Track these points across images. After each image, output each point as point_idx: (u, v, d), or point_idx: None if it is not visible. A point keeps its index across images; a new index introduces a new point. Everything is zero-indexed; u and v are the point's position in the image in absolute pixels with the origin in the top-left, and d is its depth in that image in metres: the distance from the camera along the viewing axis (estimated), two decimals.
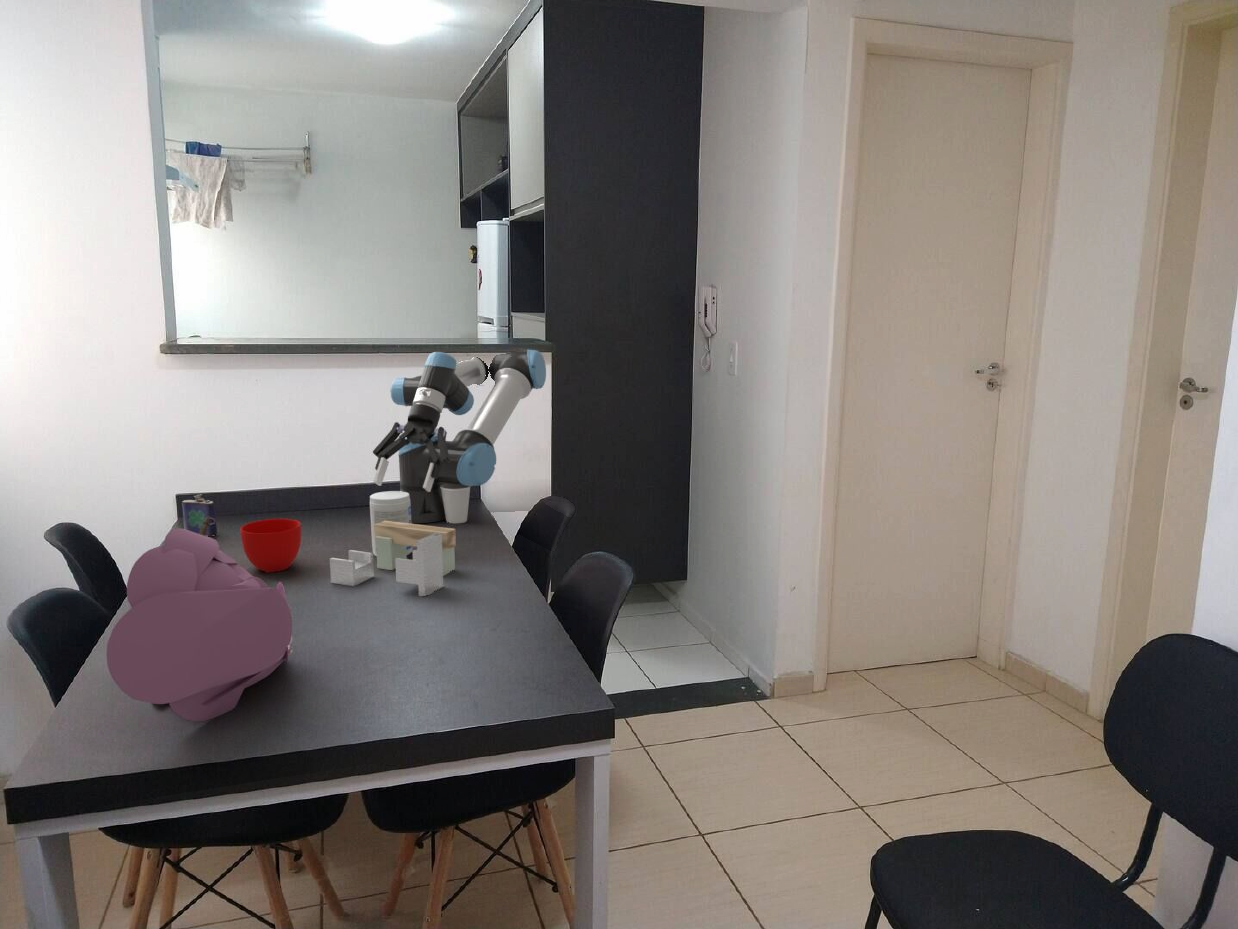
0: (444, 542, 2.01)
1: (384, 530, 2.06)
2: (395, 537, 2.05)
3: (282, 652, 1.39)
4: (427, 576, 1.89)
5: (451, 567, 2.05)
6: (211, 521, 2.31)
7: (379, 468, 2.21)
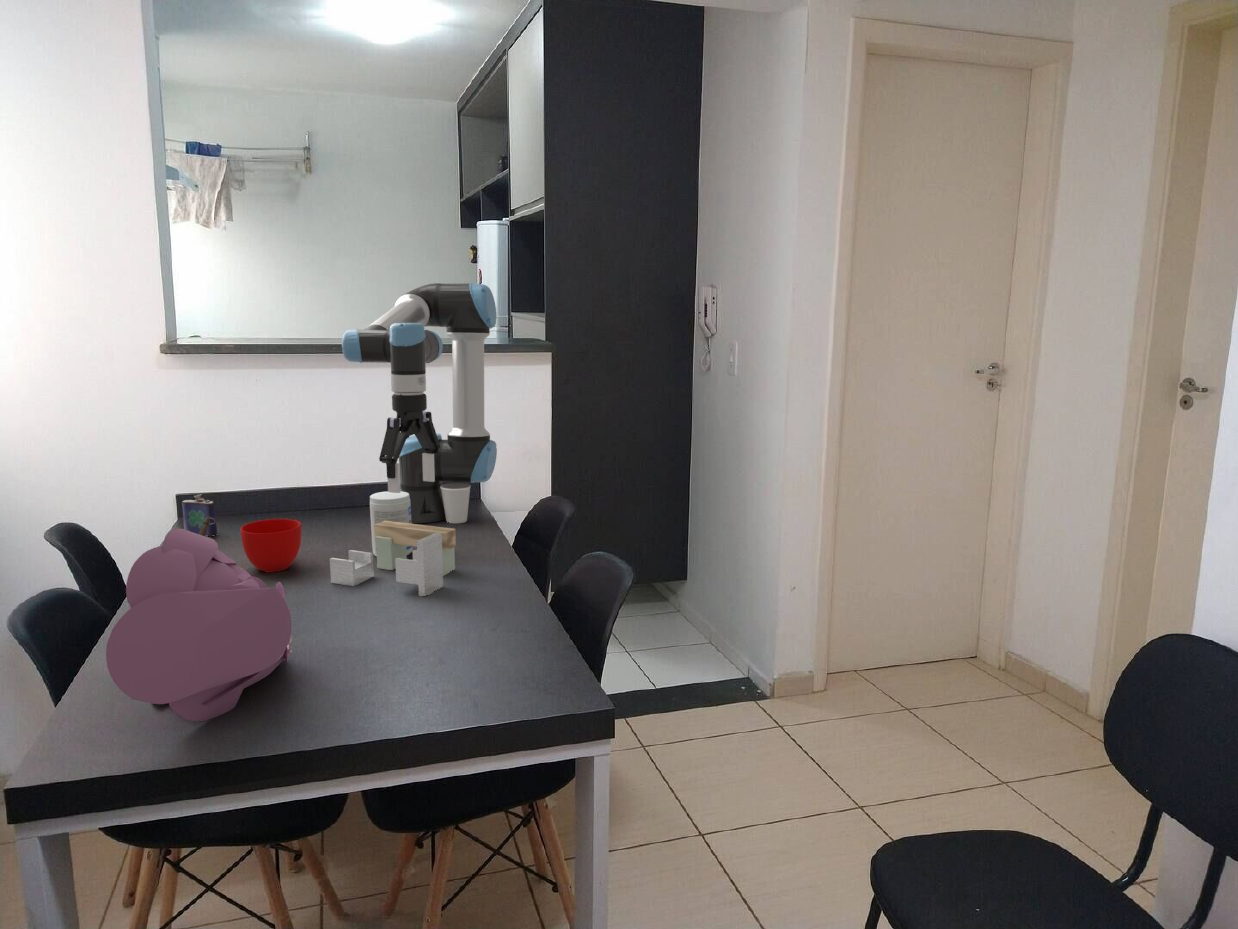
0: (444, 542, 2.01)
1: (384, 530, 2.06)
2: (395, 537, 2.05)
3: (281, 652, 1.39)
4: (427, 576, 1.89)
5: (451, 567, 2.05)
6: (211, 521, 2.31)
7: (399, 477, 1.96)
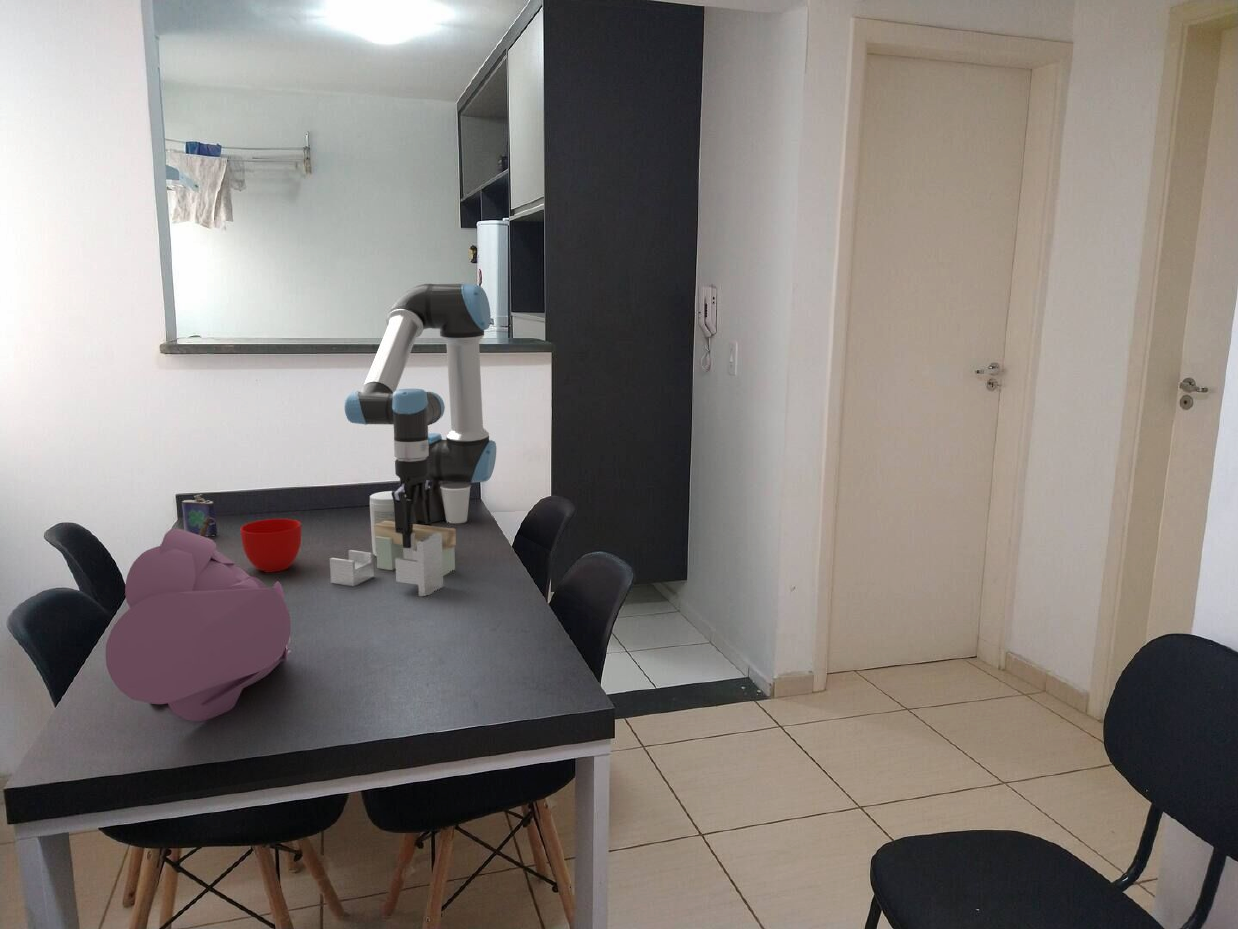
0: (444, 542, 2.01)
1: (384, 530, 2.06)
2: (395, 537, 2.05)
3: (281, 652, 1.39)
4: (427, 576, 1.89)
5: (451, 567, 2.05)
6: (211, 521, 2.31)
7: (414, 546, 2.04)
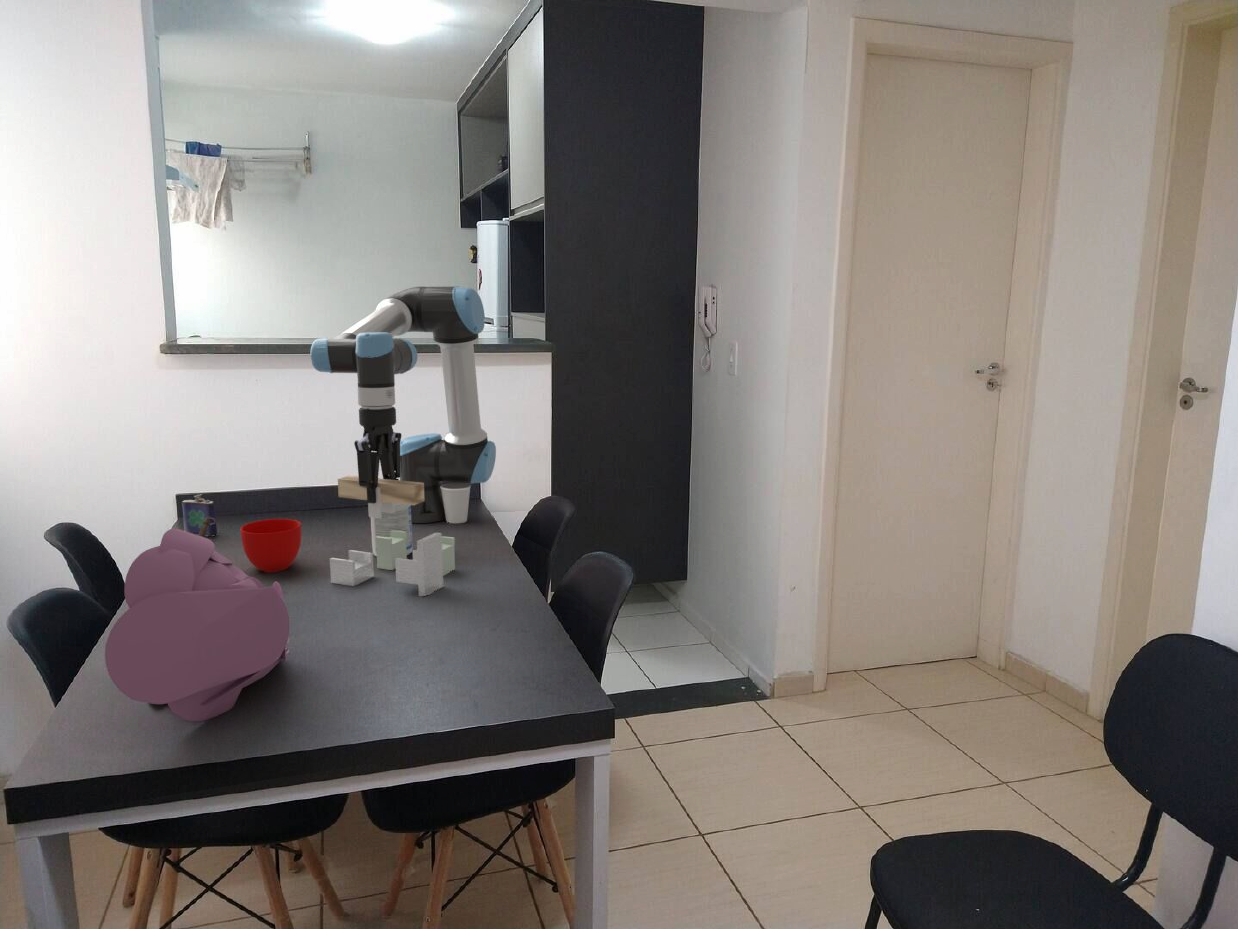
0: (411, 496, 1.87)
1: (347, 484, 1.92)
2: (359, 492, 1.92)
3: (280, 651, 1.39)
4: (427, 576, 1.89)
5: (451, 567, 2.05)
6: (211, 521, 2.31)
7: (380, 501, 1.90)
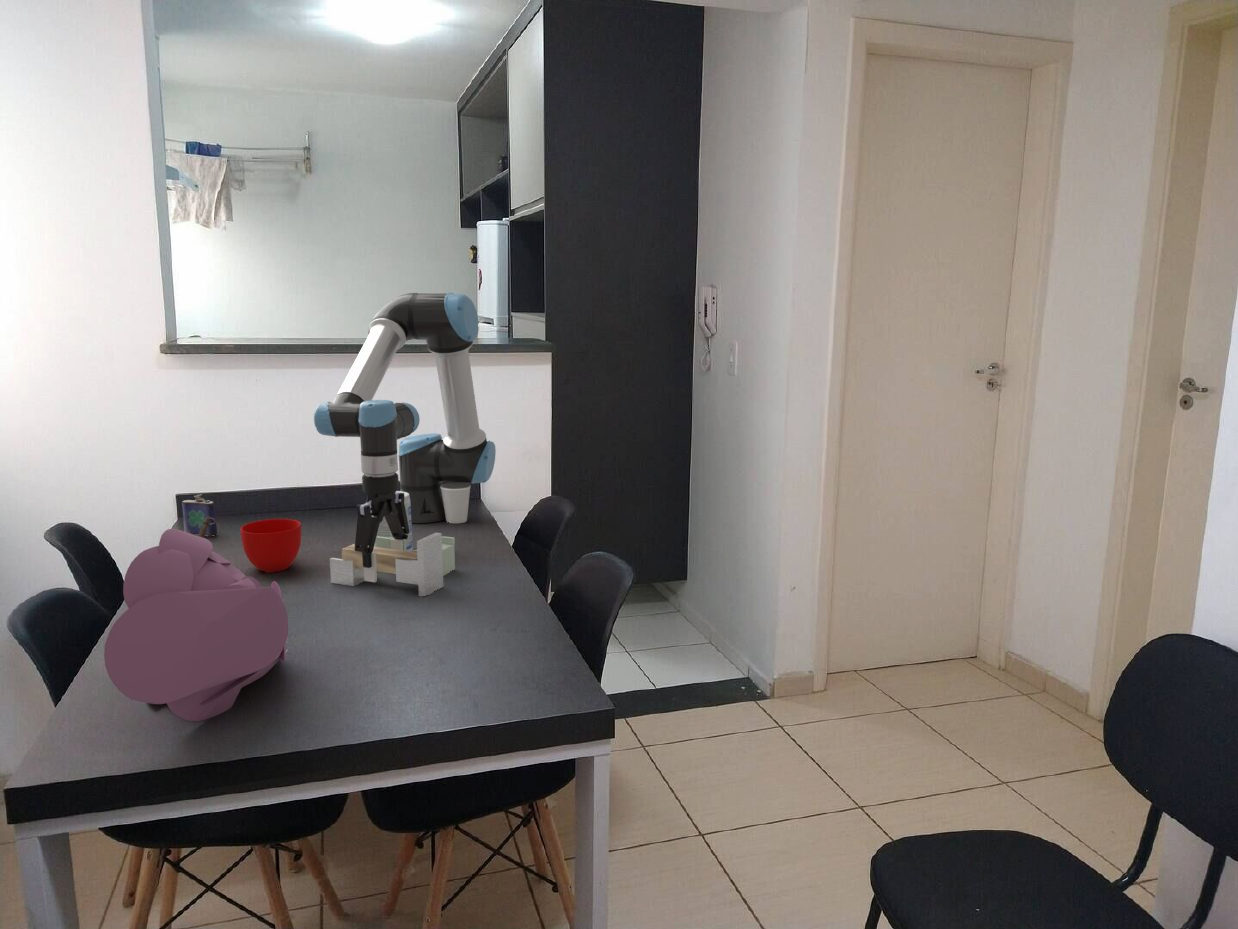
0: None
1: (351, 554, 1.96)
2: None
3: (279, 651, 1.39)
4: (427, 576, 1.89)
5: (451, 567, 2.05)
6: (211, 521, 2.31)
7: (375, 565, 1.90)
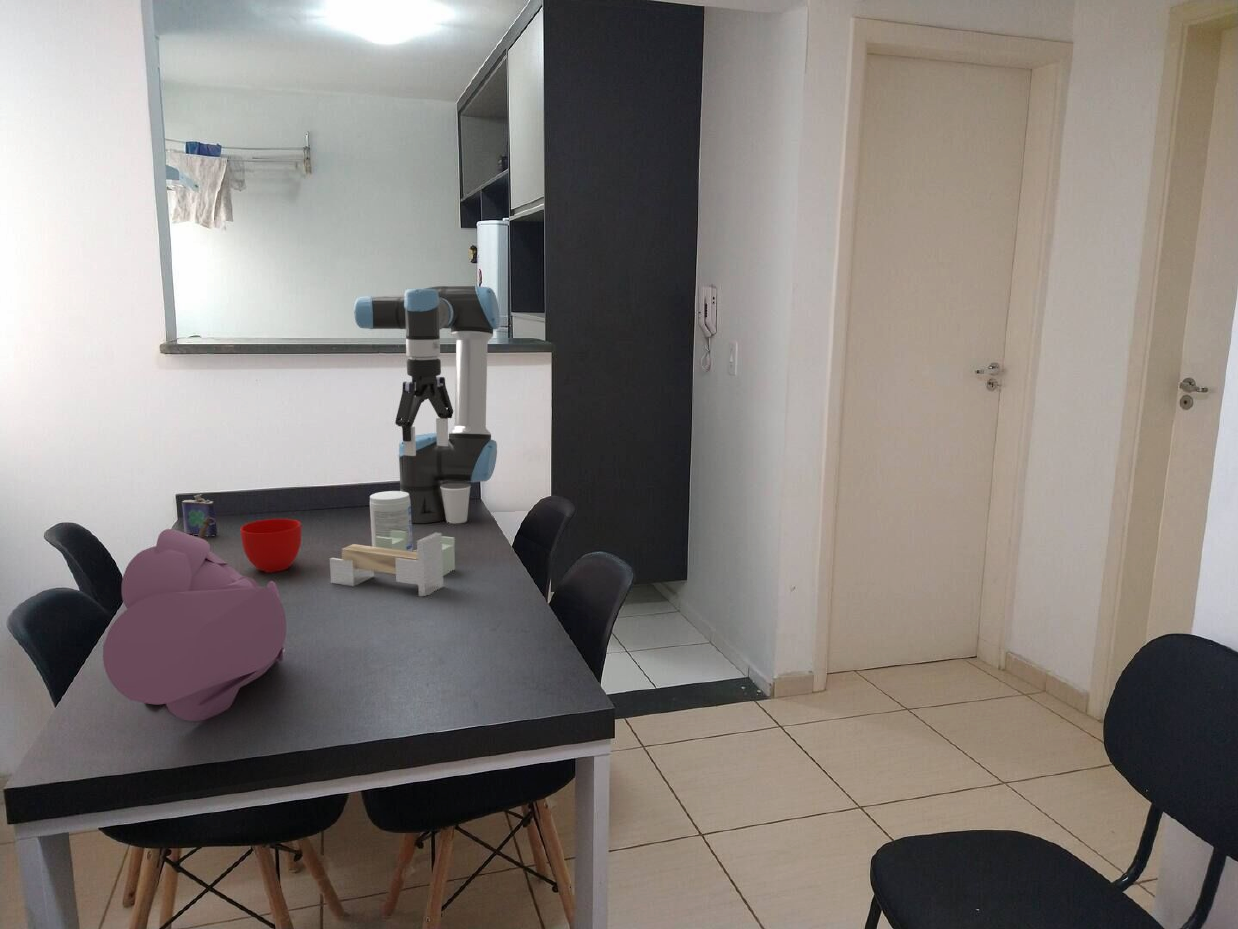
0: None
1: (351, 554, 1.96)
2: (363, 562, 1.95)
3: (277, 651, 1.39)
4: (427, 576, 1.89)
5: (451, 567, 2.05)
6: (211, 521, 2.31)
7: (414, 440, 2.00)
